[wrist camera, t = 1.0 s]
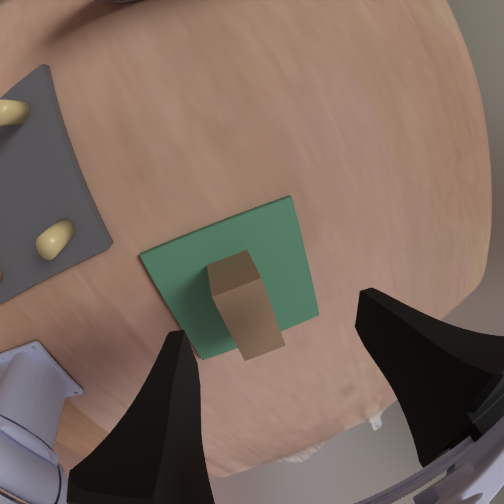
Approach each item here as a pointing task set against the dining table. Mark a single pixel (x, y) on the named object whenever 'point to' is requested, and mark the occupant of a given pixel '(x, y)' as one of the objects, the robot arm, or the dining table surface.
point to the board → (223, 241)
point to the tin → (116, 1)
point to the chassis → (41, 190)
